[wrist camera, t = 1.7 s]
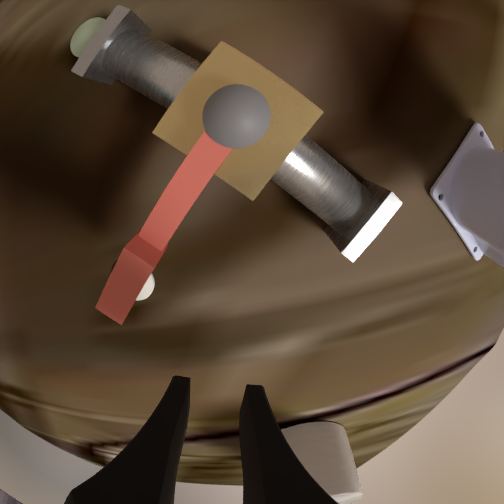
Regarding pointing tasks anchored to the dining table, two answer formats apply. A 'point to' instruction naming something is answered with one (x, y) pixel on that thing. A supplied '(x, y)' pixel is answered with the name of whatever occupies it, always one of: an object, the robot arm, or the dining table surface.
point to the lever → (185, 190)
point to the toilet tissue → (326, 458)
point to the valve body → (256, 155)
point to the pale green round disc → (84, 35)
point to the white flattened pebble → (147, 288)
